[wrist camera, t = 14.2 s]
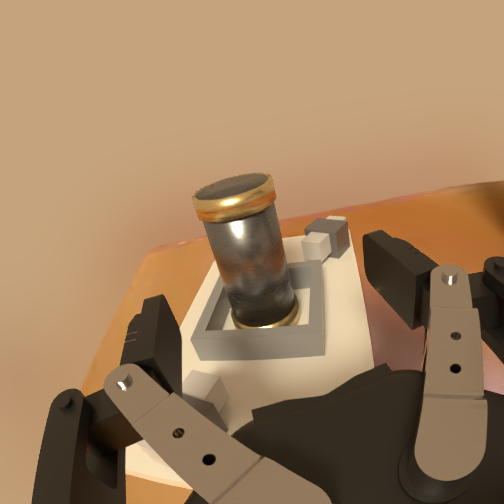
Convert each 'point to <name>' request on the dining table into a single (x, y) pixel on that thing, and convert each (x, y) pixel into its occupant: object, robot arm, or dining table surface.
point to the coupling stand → (271, 342)
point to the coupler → (249, 250)
